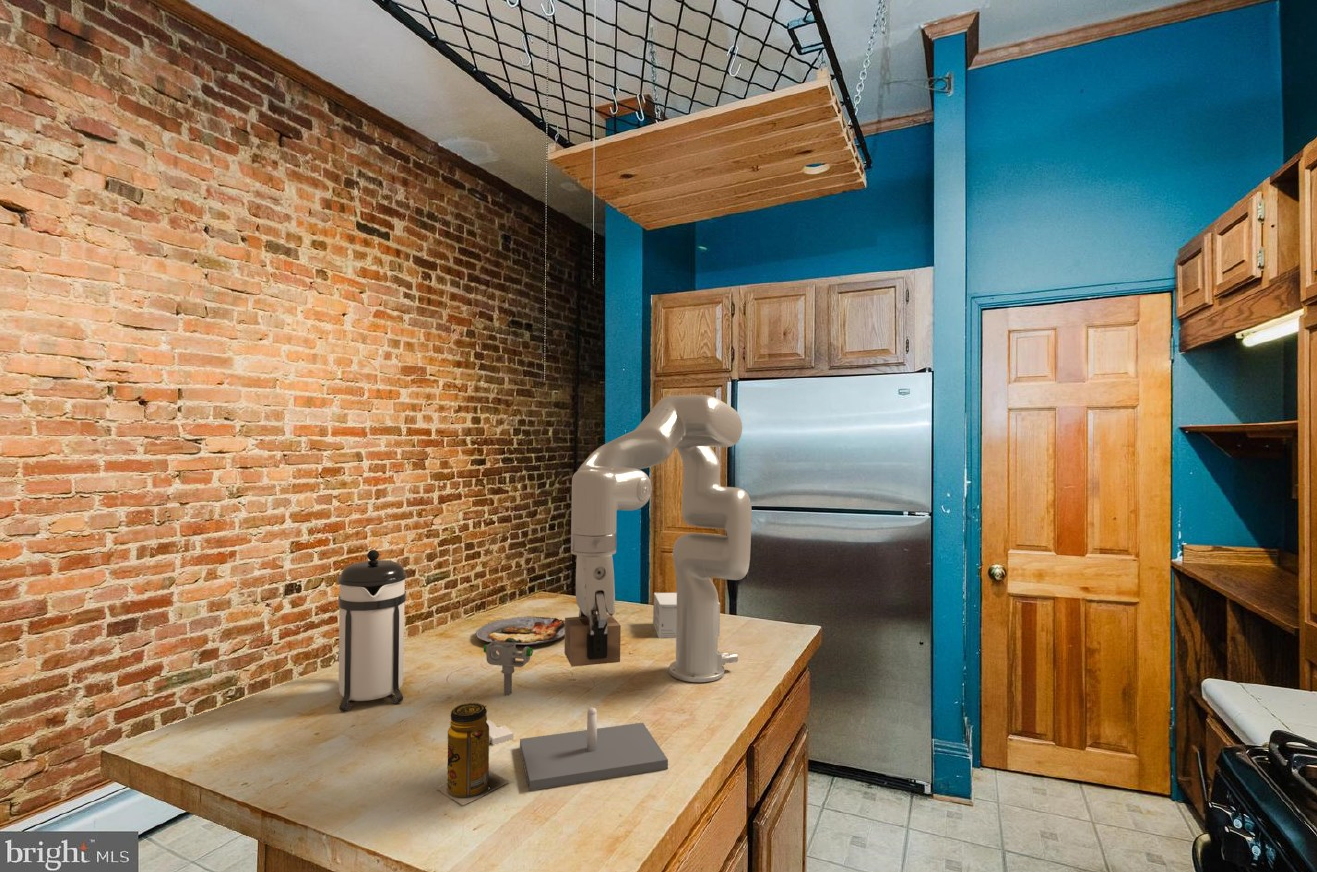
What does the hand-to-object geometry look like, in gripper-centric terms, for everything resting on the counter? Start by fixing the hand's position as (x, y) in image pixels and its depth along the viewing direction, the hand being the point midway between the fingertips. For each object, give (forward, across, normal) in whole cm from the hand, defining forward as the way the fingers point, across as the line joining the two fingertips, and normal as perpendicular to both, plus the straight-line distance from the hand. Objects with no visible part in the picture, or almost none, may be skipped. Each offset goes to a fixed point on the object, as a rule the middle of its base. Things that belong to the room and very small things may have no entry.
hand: (592, 649), depth 107 cm
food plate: (+18, +69, +3) cm, 71 cm away
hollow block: (+1, 0, 0) cm, 1 cm away
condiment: (+18, -3, +19) cm, 26 cm away
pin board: (+18, 0, 0) cm, 18 cm away
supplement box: (+18, +62, -40) cm, 76 cm away
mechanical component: (+18, +31, +11) cm, 37 cm away
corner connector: (+19, +13, +17) cm, 28 cm away
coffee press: (+18, +38, +38) cm, 57 cm away
